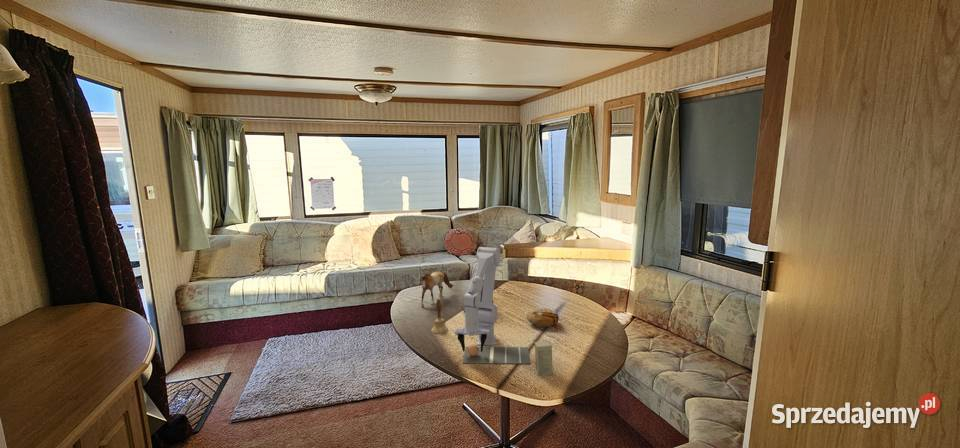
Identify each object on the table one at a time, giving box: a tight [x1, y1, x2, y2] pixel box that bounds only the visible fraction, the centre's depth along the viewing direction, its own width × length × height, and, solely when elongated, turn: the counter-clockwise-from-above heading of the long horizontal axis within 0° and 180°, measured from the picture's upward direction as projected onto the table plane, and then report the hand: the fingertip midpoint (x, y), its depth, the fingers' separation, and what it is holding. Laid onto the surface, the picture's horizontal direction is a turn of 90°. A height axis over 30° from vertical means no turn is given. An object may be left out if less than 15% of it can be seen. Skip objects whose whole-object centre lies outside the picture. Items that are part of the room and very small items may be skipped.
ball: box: [467, 343, 479, 356], centre depth 167 cm, size 5×5×5 cm
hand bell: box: [431, 298, 449, 335], centre depth 193 cm, size 8×8×16 cm
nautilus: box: [525, 307, 564, 333], centre depth 194 cm, size 8×22×15 cm
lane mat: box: [461, 346, 531, 365], centre depth 168 cm, size 14×28×1 cm, turn 86°
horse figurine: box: [420, 271, 455, 308], centre depth 233 cm, size 31×8×21 cm, turn 152°
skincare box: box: [534, 340, 554, 376], centre depth 153 cm, size 6×4×12 cm
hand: (472, 350), depth 167 cm, fingers open, 7 cm apart
